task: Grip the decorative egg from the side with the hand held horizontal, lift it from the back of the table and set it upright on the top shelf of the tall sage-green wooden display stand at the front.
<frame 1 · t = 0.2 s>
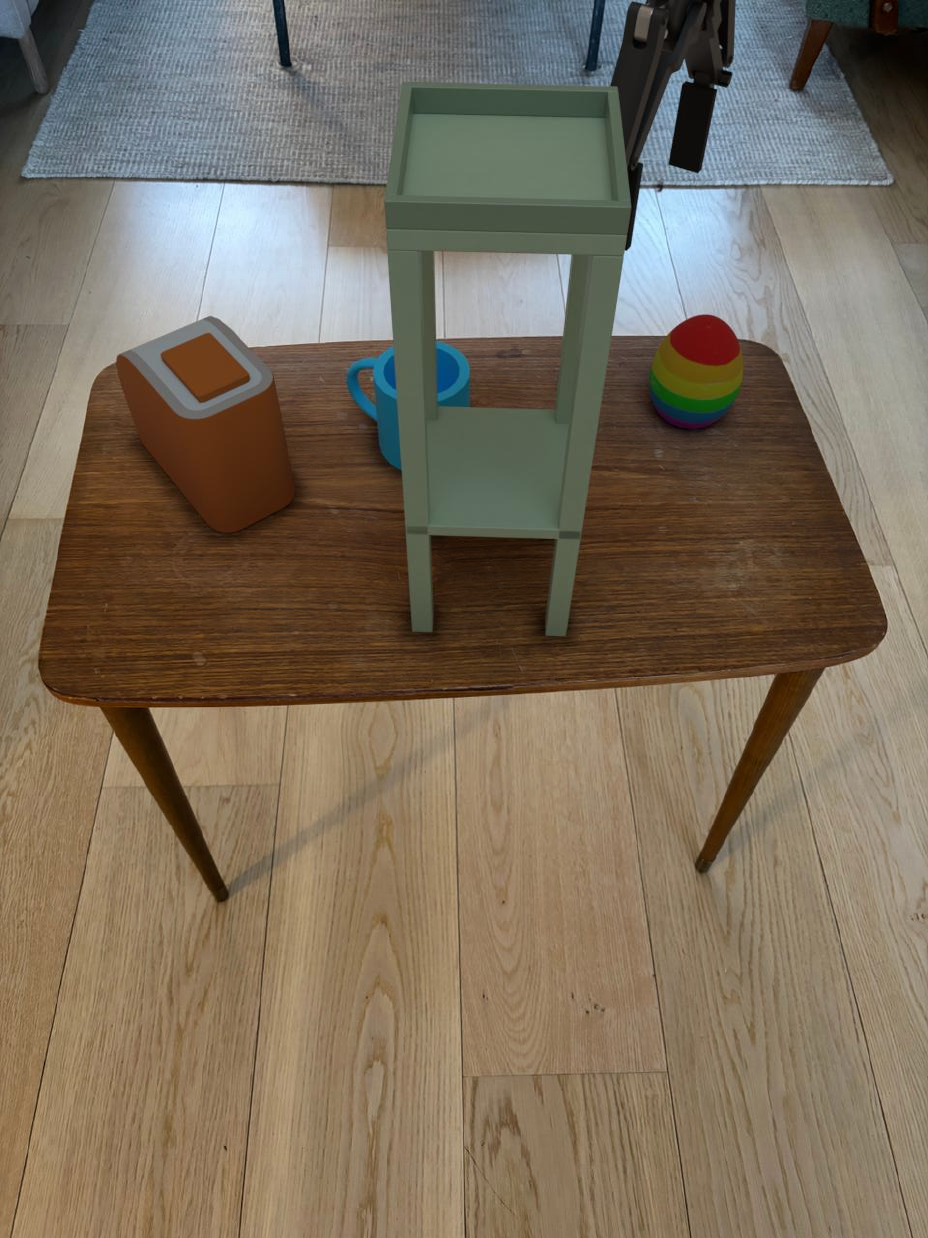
hand: (650, 204, 80), 18 cm above the table, tool pointing down, fingers open, 13 cm apart
alarm clock: (222, 470, 87), on the table
decorative egg: (686, 410, 92), on the table
mug: (406, 436, 90), on the table
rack: (490, 574, 80), on the table
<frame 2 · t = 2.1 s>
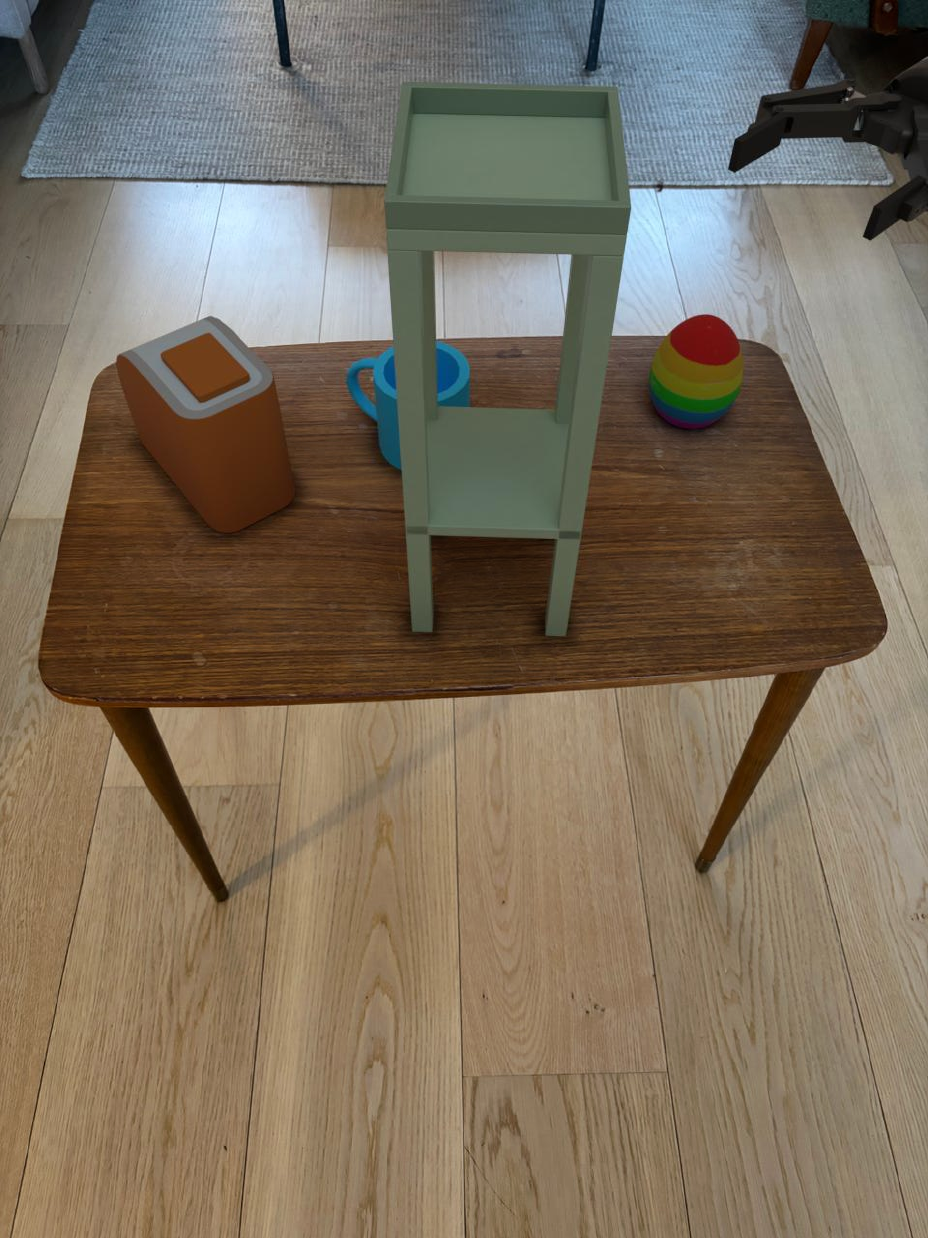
hand: (800, 188, 81), 18 cm above the table, tool horizontal, fingers open, 13 cm apart
nothing on the table moved.
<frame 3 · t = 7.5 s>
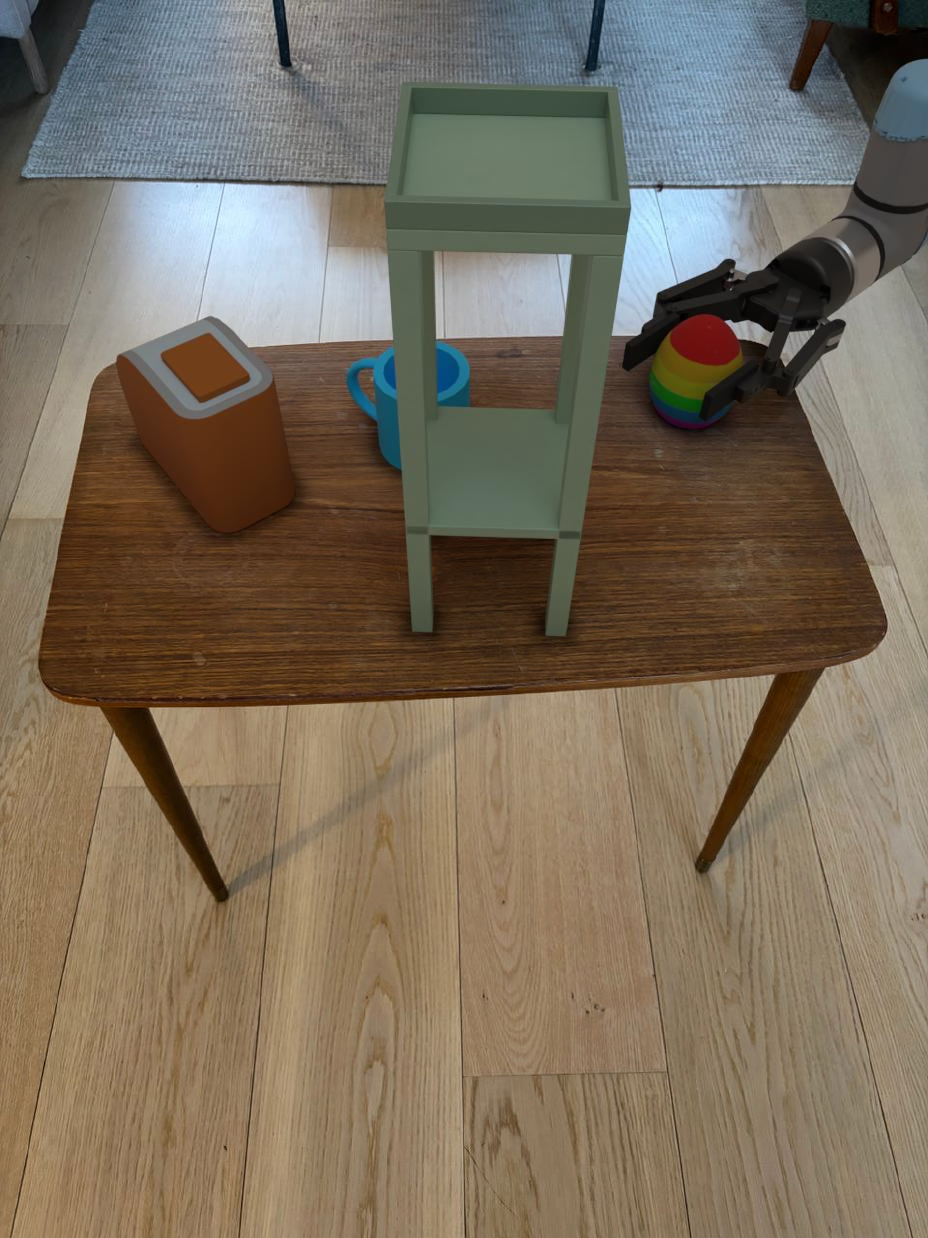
hand: (665, 381, 85), 6 cm above the table, tool horizontal, fingers closed on decorative egg, 8 cm apart
decorative egg: (687, 410, 92), on the table, touching gripper
everything else where it was.
when the fingers open (41 cm above the table, at t = 17.7 s): decorative egg stays where it is, resting on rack.
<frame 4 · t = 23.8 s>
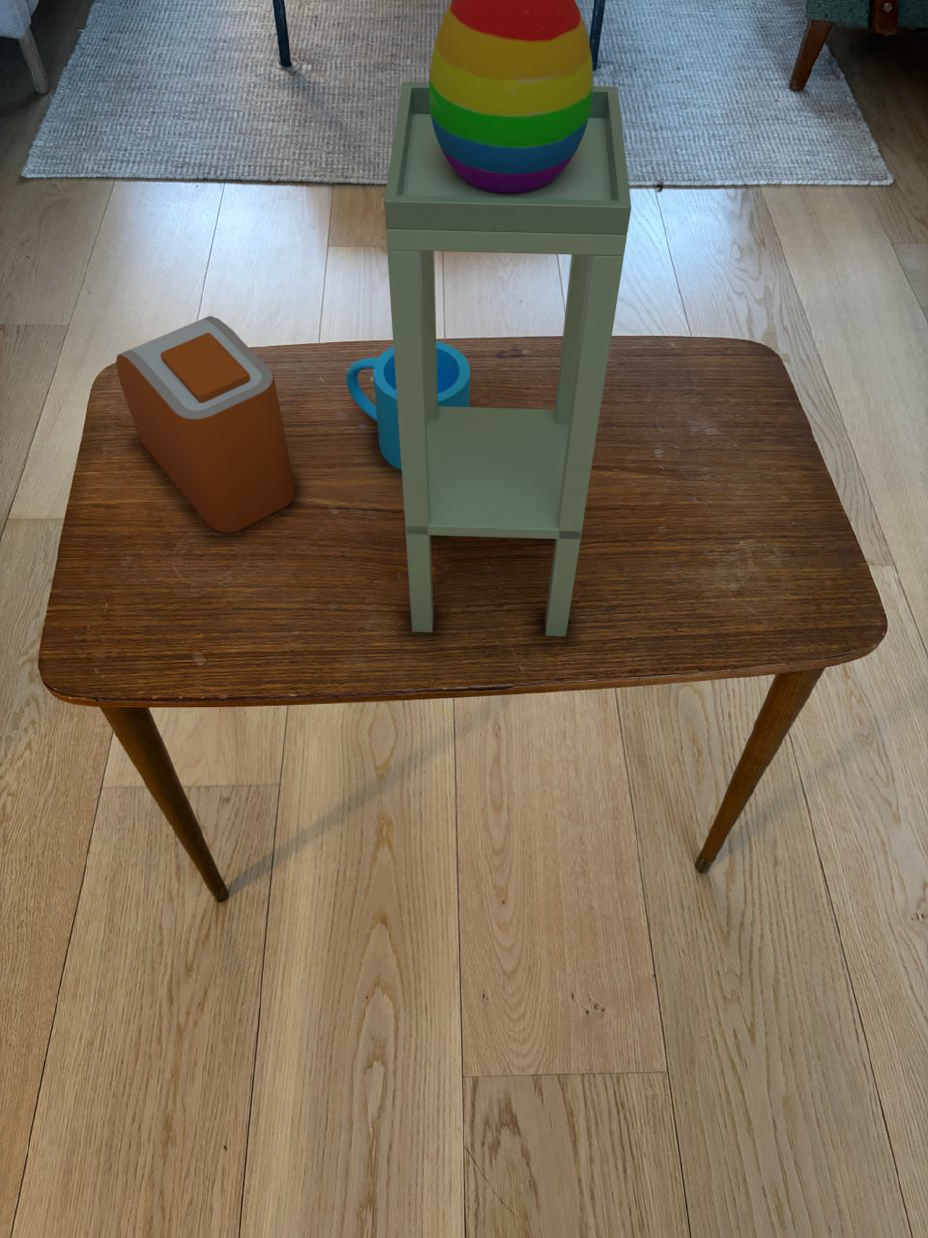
decorative egg: (507, 170, 53), point 34 cm above the table, touching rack
everything else where it was.
at the end: decorative egg inside the target area on the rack (0.0 cm from its centre), point 34.4 cm above the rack's base; decorative egg tilted 0°; the gripper is holding nothing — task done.
